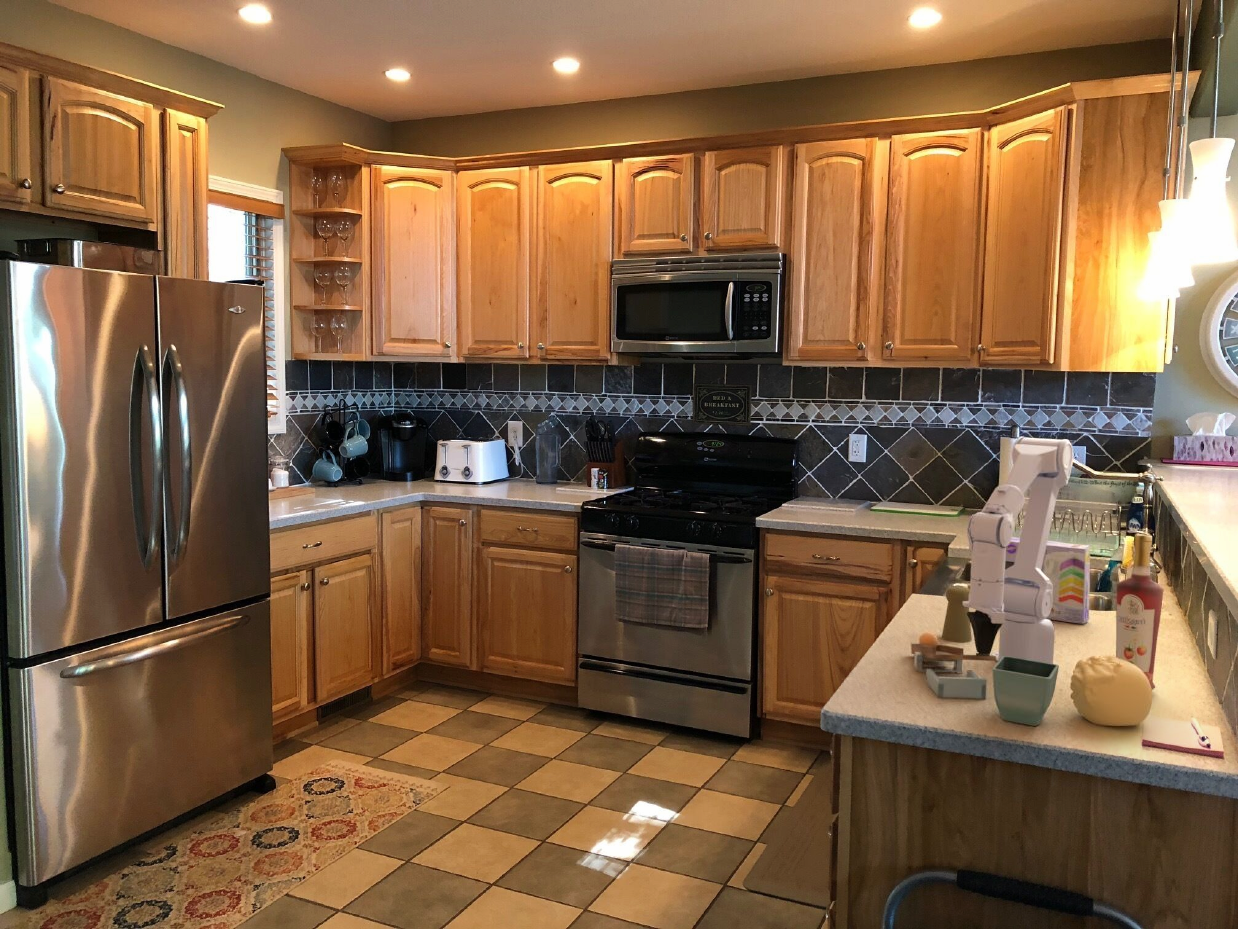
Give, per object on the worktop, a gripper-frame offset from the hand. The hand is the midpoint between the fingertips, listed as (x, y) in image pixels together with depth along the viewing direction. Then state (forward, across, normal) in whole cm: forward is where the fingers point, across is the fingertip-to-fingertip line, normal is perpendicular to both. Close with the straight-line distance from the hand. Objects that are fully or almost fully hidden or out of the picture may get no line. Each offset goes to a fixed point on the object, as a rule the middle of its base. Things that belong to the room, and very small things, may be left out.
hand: (983, 652), depth 181 cm
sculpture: (+6, +19, +14) cm, 25 cm away
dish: (+5, +6, -6) cm, 10 cm away
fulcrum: (+5, -6, -6) cm, 10 cm away
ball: (+2, -13, -6) cm, 15 cm away
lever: (+4, -7, -4) cm, 9 cm away
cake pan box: (+6, -50, +29) cm, 58 cm away
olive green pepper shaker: (+6, -29, +4) cm, 30 cm away
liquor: (+6, +3, +26) cm, 26 cm away
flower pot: (+6, +20, 0) cm, 21 cm away
